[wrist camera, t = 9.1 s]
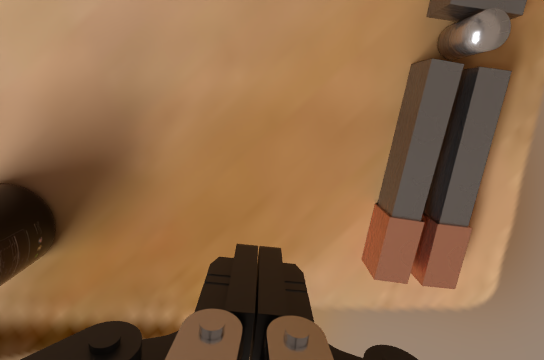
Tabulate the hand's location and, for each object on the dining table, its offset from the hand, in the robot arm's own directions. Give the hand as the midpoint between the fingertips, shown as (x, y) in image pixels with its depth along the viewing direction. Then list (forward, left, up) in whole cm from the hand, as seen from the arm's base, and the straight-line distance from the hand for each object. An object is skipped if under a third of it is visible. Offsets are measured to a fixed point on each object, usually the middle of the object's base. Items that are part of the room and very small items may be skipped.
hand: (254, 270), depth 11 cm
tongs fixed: (-5, +13, -15) cm, 20 cm away
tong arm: (-2, +11, -15) cm, 19 cm away
